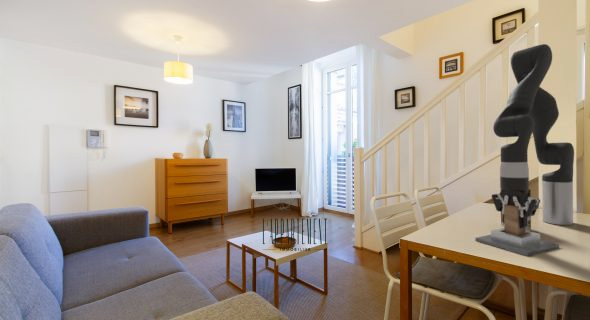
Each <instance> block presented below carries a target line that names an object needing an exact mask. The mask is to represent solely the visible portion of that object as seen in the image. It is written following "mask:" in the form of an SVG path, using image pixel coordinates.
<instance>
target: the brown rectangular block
mask: <svg viewBox="0 0 590 320" xmlns="http://www.w3.org/2000/svg"><path fill="white" fill-rule="evenodd" d="M523 206H524V205H523ZM523 206H521V207H523ZM519 217H520V216H519V210H518V206H515V205H505V204H504V226H503V228H505V233H509V234H513V235H517V236H523V235H525V228H523V229H522V228H520V227H519Z"/></svg>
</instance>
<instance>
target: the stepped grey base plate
mask: <svg viewBox="0 0 590 320" xmlns="http://www.w3.org/2000/svg"><path fill="white" fill-rule="evenodd" d="M474 240H475V242H478V243H483V244H484V245H489V246H492V247H495V248H499V249H502V250H505V251H509V252H513V253H516V254H519V255H522V256H526V257H529V256H533V255H536V254H540V253H544V252H548V251H551V250H556V249H559V247H560V244H558V243H555V242H550V241H546V240H541V233H538V232H534V231H525V235H523V236H517V235H513V234H509V233H505V228H504V227H501V228H497V229H492V230H491V231H490V234H487V235H483V236H479V237H478V236H477V237H475V239H474Z"/></svg>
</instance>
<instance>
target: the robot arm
mask: <svg viewBox="0 0 590 320" xmlns="http://www.w3.org/2000/svg"><path fill="white" fill-rule="evenodd" d="M552 60H553V52H552V49H551V46H549V45H548V44H546V43H545V44H544V43H543V44H539V45H534V46H531V47H527V48H524V49H521V50H517V51H514V52H513V53H512V54H511V57H510V66H511V70H512V73H513V75H514V77H515V80H516V83H517V84H516V86H515V87H513V89H512V90H511V92H510V93H509V97H508V100H507V103H506V105H505V107H504V108H503V110H502V111H501V112H500V113H499V115H498V116H497V117H496V119H495V121H494V123H493V133H494V135H495V136H497V137H499V138H515V137H517V140H516V141H515V142H513V143H508V144H504V145H502V146H501V147H500V167H499V185H500V186H499V189H500V188H501V192H499V193H493V194H491V199H492V201H493V204H494V207H495V210H496V211H497V212H500V213H501V212H502V213H503V223H504V204H505V205H515V206H518V210H519V216H520V217H519V227H520V228H522V229H523V228H526V227H527V217H529V216H531V217H534V216H535V215H536V212H537V209H538V207H539V205H540V204H541V200H542V221H543V222H544V223H548V224H550V225H551V224H552V225H553V224H554V225H557V226H558V225H559V226H569V225H570V226H571V225H574V162H575V149H574V146H573V144H572V143H571V142H548V139H547V137H548V135H549V132H550V131H551V129H552V128H553V127H554V125H555V123H556V122H557V120H558V118H559V115H560V113H559V108H558V104H557V100H556V98H555V97H554V96H553V95H552V94H551V93H549V91H547V90H545V89H544V88H542V87H541V84H542V82H543V81H544V79H545V77H546V75H547V73H548V71H549V69H550V68H551V65H552V63H553V61H552ZM531 137H533V141H534V142H533V143H534V148H535V154H536V157H537V161H538V162H539V163H540V164H542V165H543V166H544V165H546V166H547V165H548V166H550V165H551V166H559V168H558V169H556V170H555V171H554V170H553V171H551V172H547V173H546V172H545V173H543V174H542V176H541V180H542V181H541V184H542V192H541V193H542V195H541V197H542V198H541V200H540V198H534V197H530V195H529V193H528V191H529V189H530V174H529V173H530V172H529V171H530V170H529V164H528V151H529V150H528V149H529V145H530V141H531ZM501 198H502V199H503V200H504V202H503V203H502V201H501ZM527 201H529V204H530V205H529V207H528V209H527V206H526V202H527ZM523 205H524V206H523ZM521 206H523V207H521Z"/></svg>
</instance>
